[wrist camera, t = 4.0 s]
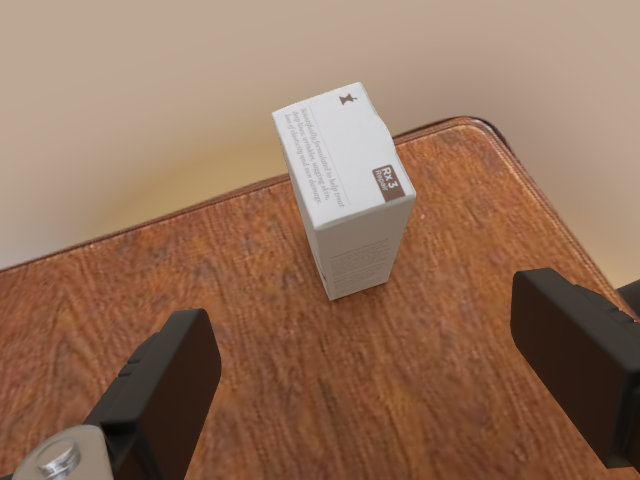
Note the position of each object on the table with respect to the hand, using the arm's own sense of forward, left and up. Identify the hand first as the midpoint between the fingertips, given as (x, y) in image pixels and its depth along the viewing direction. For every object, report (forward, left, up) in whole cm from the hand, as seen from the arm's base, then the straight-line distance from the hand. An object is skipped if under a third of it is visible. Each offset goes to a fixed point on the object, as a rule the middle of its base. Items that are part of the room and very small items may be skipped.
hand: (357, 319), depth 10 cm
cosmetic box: (0, -7, -14) cm, 16 cm away
